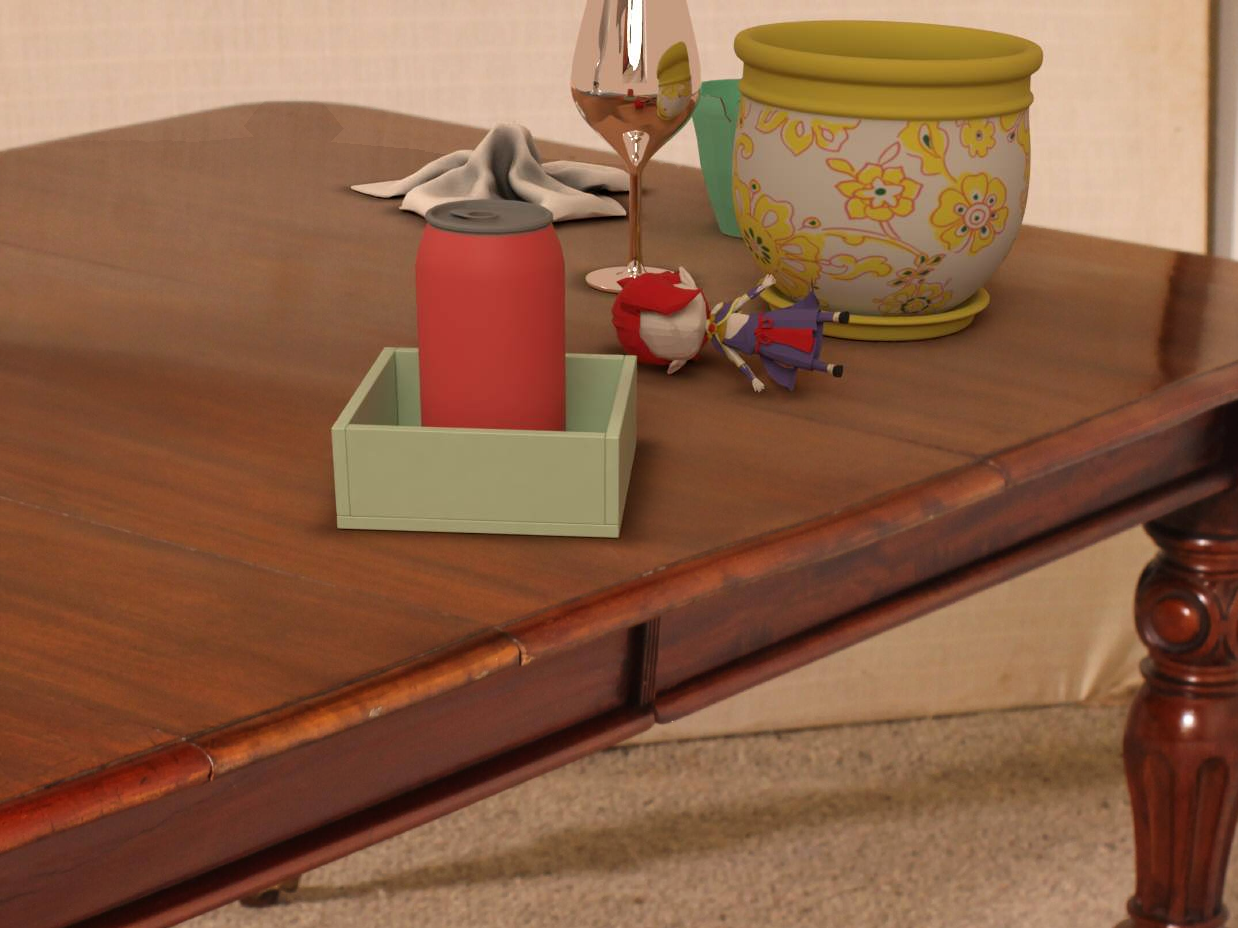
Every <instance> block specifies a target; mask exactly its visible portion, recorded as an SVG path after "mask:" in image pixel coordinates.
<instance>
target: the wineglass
mask: <svg viewBox="0 0 1238 928" xmlns="http://www.w3.org/2000/svg"><path fill="white" fill-rule="evenodd" d="M701 65H702V64H701V60H700V55H699V49H698V44H697V40H696V35H695V31H694V26H693V23H692V18H691V15H690V10H689V6H688V2H687V0H586V3H585V7H584V10H583V14H582V20H581V23H580V27H579V31H578V36H577V40H576V44H575V47H574V53H573V57H572V62H571V69H570V79H569V80H570V81H569V85H570V86H569V87H570V93H571V97H572V100H573V103H574V105H575V107H576V110H577V111H578V113H579V114H580V116H581V117H582V119H583V120H584V121H585V122H586V124H587V125H588V126H589V127H590V128H591V129H592V130H593V131H594V132H595V133H596V134H597V135H598V137H600V139H602V140H603V141H604V142H605V143H606V144H607V145H609V147H611V148H612V150H613V151H615V153H616V154H617V155H618V156H619V157H620V158H621V160H622V161H623V163H624V164H625V166H626V168H627V170H628V174H629V190H628V192H629V199H628V200H629V202H628V203H629V204H628V205H629V209H628V210H629V213H628V215H629V216H628V217H629V220H628V222H629V224H628V225H629V226H628V255H627V264H626V266H624V265H623V266H611V267H605V268H600V269H596V270H593V271H591V272H589V273H587V274H586V276H585V283H586V285H588V286H589V287H591V288H593V289H596V290H599V291H603V292H607V293H608V292H609V293H613V294H619V292H620V291H621V290H622V289H623V288H622V287H621V286H620V285H619V284H618V283H617V281H618V280H621V279H624V278H628V277H634V278H635V277H637V276H640V275H642V274H643V273H654V274H655V273H663V272H665V271H670V272H671V273H674V272H675V271H673V270H669V269H665V268H659V267H654V266H653V267H651V266H644V263H643V262H644V261H643V247H642V246H643V245H642V241H643V240H642V218H643V217H642V215H643V213H642V212H643V210H642V206H643V205H642V203H643V173H644V170H645V168H646V166H647V164H648V163H649V161H650V160H651V159H652V157H654V156H655V154H656V153H657V152H658V151H660V149H662V148H663V146H664V147H665V145H666V144H667V143H669V142H670V141H671V140H672V139H673V138H674V137H675V136H676V135H678V133H679V132H680V131H681V130H682V129H684V127H685V126H686V125H687V124H688V123H689V121H690V120H691V119H692V116H693V114H694V113H695V111H696V109H697V107H698V105H699V102H700V99H701V95H702V82H703V72H702V66H701ZM679 276H680V273H679Z"/></svg>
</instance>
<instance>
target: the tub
mask: <svg viewBox="0 0 1238 928" xmlns="http://www.w3.org/2000/svg"><path fill="white" fill-rule="evenodd" d="M565 355H566V432H565V431H536V430H506V429H476V428H446V427H421V404H420V379H419V354H418V347H395V346H394V347H390V346H384V347H383V349H382V350H381V352H380V353H379V354H378V356H377V358H376V359H375V361H374V362H373V364H372V366H371V367H370V369H369V370H368V371H367V373H366V375H365V377H363V379H362V381H361V383H360V384H359V385H358V387H357V389H356V390H355V392H353V394H352V396H351V398H350V399H349V401H348V402H347V403H346V405H345V407H344V409H343V410H342V412H341V413H340V414H339V416H338V418H337V419H336V420H335V422H334V424H333V425H332V427H331V429H330V430H331V445H332V446H331V447H332V462H333V478H334V493H335V495H334V497H335V510H336V512H335V513H336V525H337V526H336V527H337V529H342V530H345V529H346V530H369V531H370V530H371V531H373V530H375V531H379V530H380V531H400V532H401V531H402V532H403V531H404V532H430V533H435V532H436V533H459V534H460V533H462V534H463V533H464V534H489V535H490V534H492V535H519V536H521V535H522V536H523V535H527V536H550V537H551V536H555V537H582V538H583V537H585V538H610V539H611V538H612V539H613V538H615V539H617V538H619V537H620V533H621V526H622V522H623V517H624V512H625V507H626V506H625V505H626V500H627V495H628V492H629V491H628V490H629V487H630V486H629V485H630V480H631V474H632V470H633V464H634V458H635V454H636V449H637V416H638V415H637V411H638V409H637V408H638V407H637V405H638V402H637V401H638V400H637V399H638V361H637V356H632V355H628V354H626V355H624V354H602V353H597V354H596V353H573V352H572V353H571V352H570V353H569V352H565Z"/></svg>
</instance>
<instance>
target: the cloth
mask: <svg viewBox="0 0 1238 928" xmlns="http://www.w3.org/2000/svg"><path fill="white" fill-rule="evenodd" d="M350 189H351V190H352V191H357V192H358V193H359V192H360V193H361V194H362V193H363V194H365V195H371V196H374V197H380V198H391V197H394V196H404V195H405V196H404V197H403V200H402V203H401V206H399V207H398V208H399V210H403V211H409V212H414V213H415V214H418V215H419V216H421V217H424V218H425V214H426V212H427V211H428V210H429V209H430V208H432V207H434V206H436V205H440V204H444V203H448V202H455V201H462V200H478V199H496V200H512V201H521V202H527V203H533V204H536V205H540V206H543V207H545V208H547V209H548V210H550V211H551V212H552V213H553V221H552V223H556V222H563V221H570V220H579V219H590V218H601V217H613V216H614V217H615V216H616V217H618V216H619V217H621V216H624V217H625V216H627V211H626V210H625V208H624V207H623V206H622V205H621V204H620V203H619V202H618V201H617V200H615V199H613V198H612V197H609V196H606V195H603V194H600V191H601V190H608V191H609V192H627V191H628V192H629V172H626V171H624V170H623V169H620V168H618V167H614V166H613V167H612V166H606V165H602V164H594V163H587V162H580V161H571V160H565V159H563V160H557V161H550V162H545V163H542V155H541V152H540V151H539V148H538V147H537V145H536V143H535V140H534V137H533V135H532V133H531V130H530V129H529V128H527V127H526V126H524V125H522V124H521V123H519V122H517V121H513V120H509V119H503V118H502V119H500V120H499V121H497V122H496V123H495V124H494V125H493V127H492V128H491V129H490V131H489V132H487V134H486V135H485V136H484V138H483V139H482V140H481V141H480V143H479V144H478V145H477V147H475V149H474V150H473V149H459V150H456V151H453V152H451V153H448V154H446V155H444V156H441V157H439V158H437V159H434V160H433V161H430V162H429V163H427V164H426V165H424V166H423V167H421V168H420V169H419V170H417V171H416V172H415V173H412V174H411V175H408V176H406V177H405V178H403V179H396V180H389V181H381V182H380V181H379V182H372V183H365V184H356V185H355V184H354V185H351V186H350Z"/></svg>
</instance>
